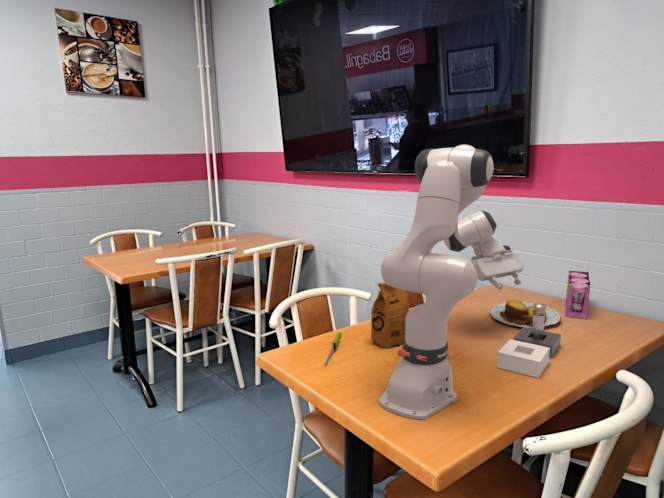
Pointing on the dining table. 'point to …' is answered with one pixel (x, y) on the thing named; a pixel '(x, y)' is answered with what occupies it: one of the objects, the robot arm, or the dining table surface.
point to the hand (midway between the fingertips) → (510, 286)
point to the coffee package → (389, 316)
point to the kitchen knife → (333, 347)
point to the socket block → (548, 340)
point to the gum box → (577, 294)
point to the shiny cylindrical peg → (538, 320)
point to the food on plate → (521, 314)
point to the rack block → (523, 358)
